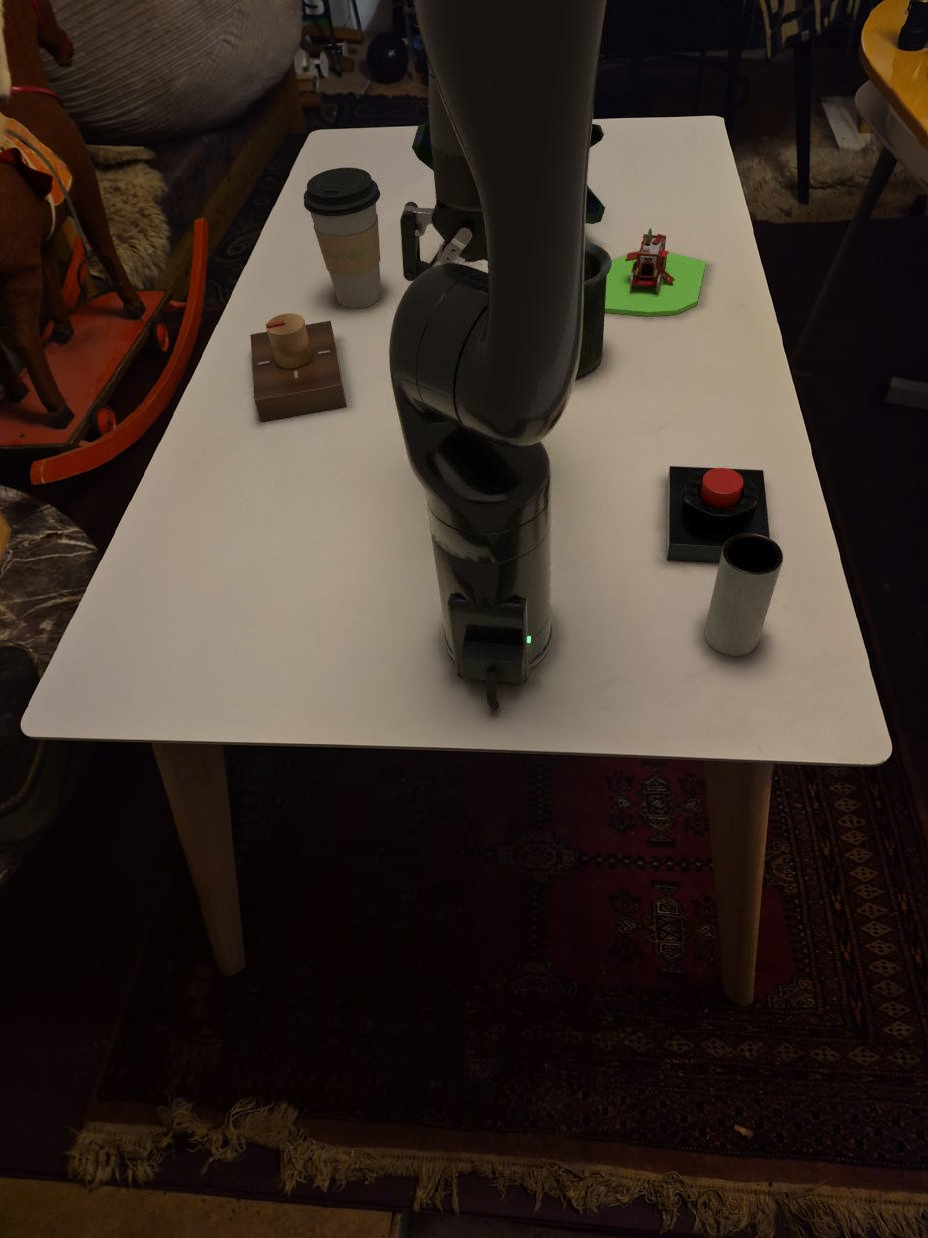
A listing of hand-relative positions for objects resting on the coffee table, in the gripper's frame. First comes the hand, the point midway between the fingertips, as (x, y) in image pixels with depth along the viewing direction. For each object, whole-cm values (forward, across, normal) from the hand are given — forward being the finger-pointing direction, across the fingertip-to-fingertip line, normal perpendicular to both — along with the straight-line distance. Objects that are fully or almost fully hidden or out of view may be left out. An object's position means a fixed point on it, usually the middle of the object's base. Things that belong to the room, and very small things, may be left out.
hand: (486, 319), depth 80 cm
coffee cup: (+16, -21, +32) cm, 41 cm away
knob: (+13, -25, +13) cm, 31 cm away
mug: (+16, +5, +18) cm, 24 cm away
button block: (+16, +22, -10) cm, 29 cm away
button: (+12, +22, -10) cm, 27 cm away
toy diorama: (+15, +16, +34) cm, 41 cm away
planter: (+16, +23, -24) cm, 37 cm away
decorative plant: (+15, 0, +48) cm, 51 cm away
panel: (+16, -25, +13) cm, 32 cm away
